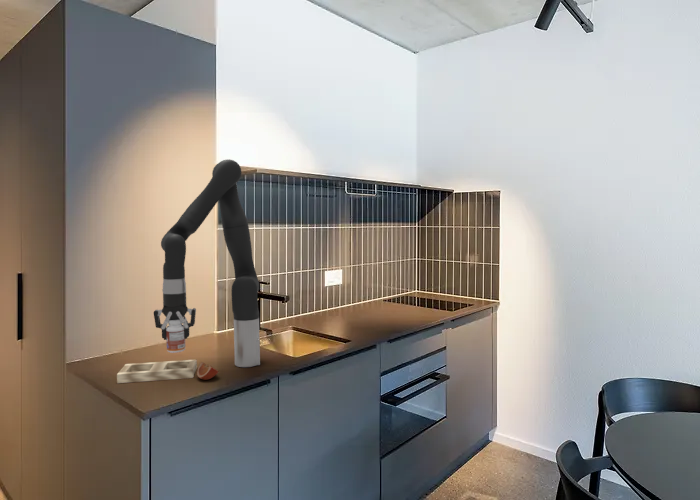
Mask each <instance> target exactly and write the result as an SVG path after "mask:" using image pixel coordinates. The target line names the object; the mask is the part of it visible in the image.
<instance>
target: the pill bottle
mask: <svg viewBox="0 0 700 500" xmlns="http://www.w3.org/2000/svg"><path fill="white" fill-rule="evenodd" d="M184 329H185V327H184V325H183V323H182V322H181V320H169V321H168V324H167V326H166V340H165V341H166V352H168V353H171V354H172V353H173V354H174V353H175V354H177V353H181V352H184V351H185V350H186V339H185V333H184Z"/></svg>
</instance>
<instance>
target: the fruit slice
mask: <svg viewBox="0 0 700 500" xmlns="http://www.w3.org/2000/svg"><path fill="white" fill-rule="evenodd" d="M198 365H199V366H197V369H196V375H197V378H199V379H201V380H203V381H204V380H205V381H206V380H207V381H208V380H211V379H212V378H214V377H215V376H216V375H217V374H218V373H219V370H217V369H216V368H214V367H212V366H211V365H209V364H207V363H204V362H202V361H201V362H200V364H198Z"/></svg>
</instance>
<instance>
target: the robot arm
mask: <svg viewBox="0 0 700 500" xmlns="http://www.w3.org/2000/svg"><path fill="white" fill-rule="evenodd" d="M211 174H212V177H211V179H210V180H209V181H208V183H207V185H206V187H204V189H203V190H202V191H201V192H200V194H198V196H197V197H196V198H195V199H194V200H193V201H192V202H191V203H190V205H189V206H188V207H187V208H186V209H185V210H184V212H183V213H182V214H181V215H180V217H179V218H178V219H177V222H176V223H175V224H174V225H172V226H171V228H170V229H168V230H167V232H165V234H164V235H163V237H162V238H161V240H160V241H161V242H160V247H161V248H162V251H164V263H163V265H162V266H163V267H162V278H163V279H162V280H163V281H162V289H161V290H162V305H163V306H162V309H155V310H154V311H153V318H154V324H155V328H156V329H161V337H162V339H163V341H166V328H167V326H168V325H169V324H168V321H169V320H181V322H182V325H184V327H185V329H184V333H185V340H186V339H187V340H188V338H189V336H190V328H191V327H193V326H195V323H196V314H197V313H196V312H197V309H196V308H195V307H193V308H188V306H187V283H186V274H185V273H186V272H185V271H186V270H185V268H186V267H185V262H186V255H187V252H186V251H187V245H186V244H187V243H186V241H187V240H188V239H189V237H190V236H192V235H193V234H195V233H196V232H197V230H199V228H200V227H201V225H202V224H203V223H204V221H205V220H206V219H207V217H208V215H210V213H211V212H212V210H214V207H215V206H216V204H217V203H218V204H219V209H220V219H221V225H222V232H223V237H224V241H225V245H226V248H227V250H228V252H229V255H230V257H231V260H232V264H233V270H234V281H233V282H232V285H231V309H232V315H233V342H234V345H233V346H234V365H235V366H236V367H238V368H239V367H240V368H251V367H255V366H260V365H261V345H260V344H261V342H260V338H261V337H260V310H259V305H258V304H259V303H258V302H259V301H258V293H259V290H260V282H259V277H258V276H257V271H256V268H255V264H254V261H253V250H252V242H251V241H252V240H251V233H250V228H249V223H248V219H247V216H246V213H245V211H244V209H243V206H242V204H241V201H240V198H239V192H238V182H239V181H240V180H241V177H242V168H241V166H240V164H239V163H238V162H237V161H235V160H233V159H223V160H220V161H219V162H218V163H217V164H215V165H214V167H213V168H212V173H211ZM187 313H188V314H189V315H190V322H188V319H187V317H186V315H187ZM162 314H163V316H165V318H164V321H163V322H162V323H161V317H160V316H161V315H162Z"/></svg>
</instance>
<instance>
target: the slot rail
mask: <svg viewBox="0 0 700 500" xmlns="http://www.w3.org/2000/svg"><path fill="white" fill-rule="evenodd" d="M197 369H198V361H197V359H184V360H183V359H182V360H181V359H180V360H169V361H168V360H167V361H153V362H138V363H137V362H136V363H135V362H134V363H125V364H124V365H123V367H122V368H121V369H120V370H119V371H118V373H116V383H117V384H123V383H124V384H126V383H127V384H128V383H139V382H152V381H166V380H180V379H181V380H182V379H194V377H195V374H196V372H197Z"/></svg>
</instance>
